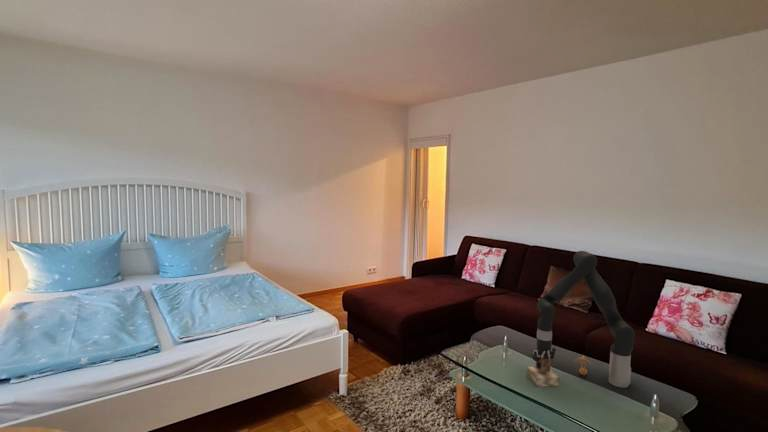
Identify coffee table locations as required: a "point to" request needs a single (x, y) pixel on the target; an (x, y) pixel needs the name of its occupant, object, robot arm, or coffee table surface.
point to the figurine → (583, 370)
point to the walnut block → (545, 364)
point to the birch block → (542, 377)
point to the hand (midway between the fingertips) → (542, 367)
